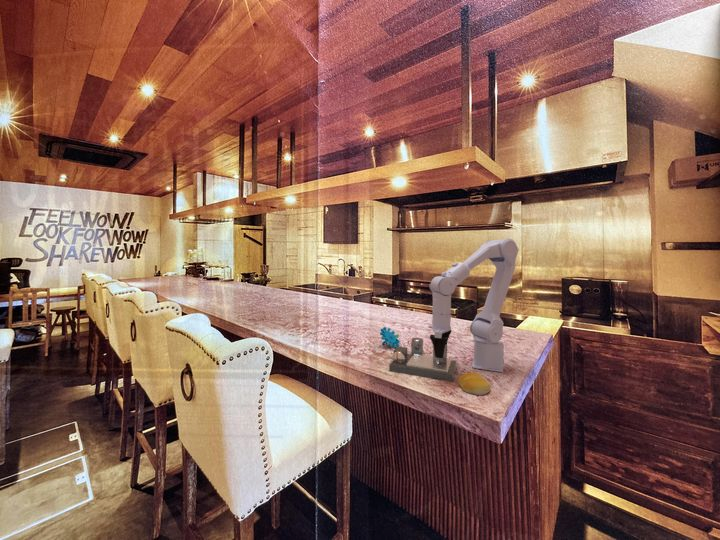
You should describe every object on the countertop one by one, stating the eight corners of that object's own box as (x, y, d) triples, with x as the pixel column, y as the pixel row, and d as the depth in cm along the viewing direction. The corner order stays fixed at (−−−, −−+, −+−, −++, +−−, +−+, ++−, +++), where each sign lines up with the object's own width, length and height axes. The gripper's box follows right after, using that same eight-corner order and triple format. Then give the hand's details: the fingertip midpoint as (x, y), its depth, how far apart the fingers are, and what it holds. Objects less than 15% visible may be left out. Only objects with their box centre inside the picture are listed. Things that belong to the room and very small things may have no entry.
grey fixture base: (456, 366, 99) (456, 350, 99) (452, 381, 87) (453, 363, 87) (399, 358, 107) (399, 343, 107) (388, 370, 95) (388, 353, 95)
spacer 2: (447, 361, 96) (448, 343, 96) (445, 366, 92) (446, 347, 92) (434, 359, 98) (434, 342, 98) (431, 363, 94) (432, 345, 94)
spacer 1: (423, 353, 112) (424, 338, 112) (421, 357, 108) (421, 341, 108) (412, 352, 114) (412, 337, 114) (410, 355, 110) (410, 340, 110)
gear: (389, 347, 115) (378, 326, 120) (380, 355, 118) (369, 334, 123) (406, 345, 122) (395, 325, 128) (397, 352, 125) (386, 333, 131)
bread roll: (465, 396, 79) (465, 381, 79) (455, 381, 88) (455, 368, 88) (496, 396, 79) (496, 382, 79) (482, 382, 88) (483, 369, 88)
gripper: (432, 308, 103) (431, 346, 103) (425, 316, 89) (424, 359, 90) (453, 310, 100) (452, 348, 100) (448, 318, 86) (447, 363, 87)
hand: (440, 354), depth 95 cm, fingers open, 6 cm apart
